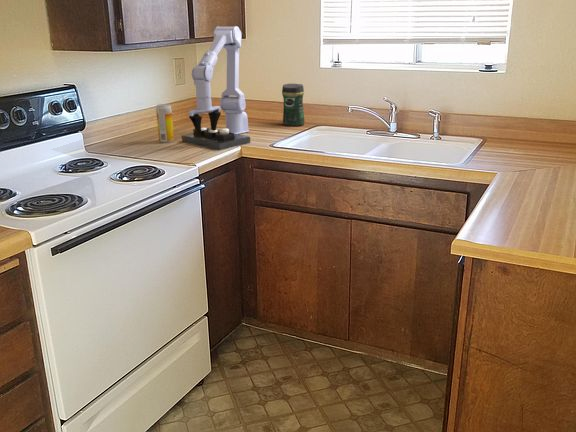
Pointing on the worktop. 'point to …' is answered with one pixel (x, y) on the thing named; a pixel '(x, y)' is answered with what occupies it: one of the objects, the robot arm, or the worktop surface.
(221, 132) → the button
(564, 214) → the worktop surface
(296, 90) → the coffee jar
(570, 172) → the worktop surface
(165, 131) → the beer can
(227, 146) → the push button control box
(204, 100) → the robot arm
